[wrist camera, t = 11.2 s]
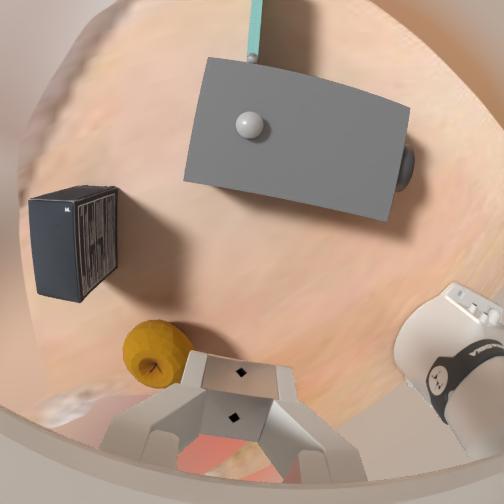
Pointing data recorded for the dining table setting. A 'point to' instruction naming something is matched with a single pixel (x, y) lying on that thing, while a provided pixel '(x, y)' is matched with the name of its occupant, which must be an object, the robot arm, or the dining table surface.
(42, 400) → the dining table surface
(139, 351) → the apple
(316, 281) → the dining table surface
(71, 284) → the small box
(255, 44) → the side door
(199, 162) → the block
